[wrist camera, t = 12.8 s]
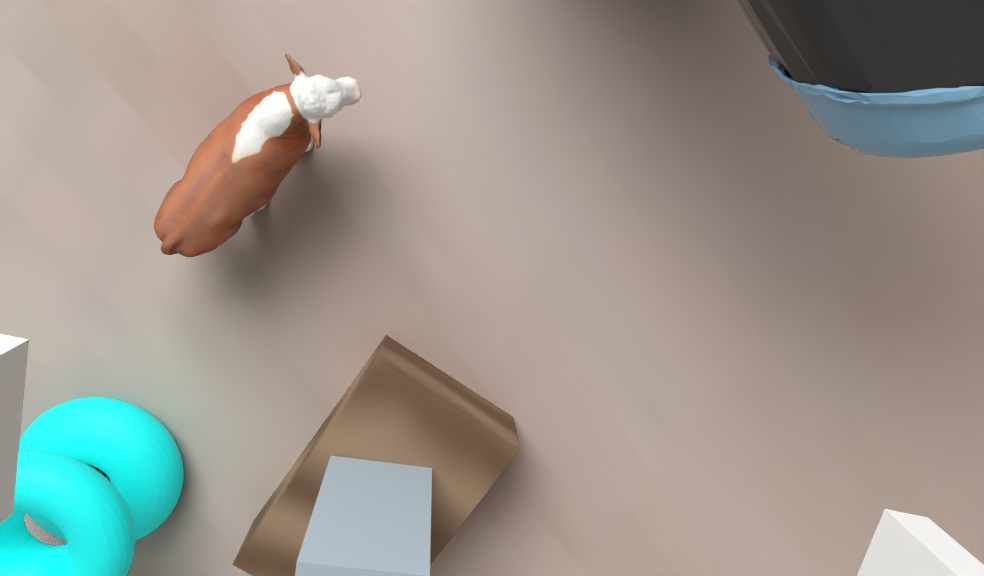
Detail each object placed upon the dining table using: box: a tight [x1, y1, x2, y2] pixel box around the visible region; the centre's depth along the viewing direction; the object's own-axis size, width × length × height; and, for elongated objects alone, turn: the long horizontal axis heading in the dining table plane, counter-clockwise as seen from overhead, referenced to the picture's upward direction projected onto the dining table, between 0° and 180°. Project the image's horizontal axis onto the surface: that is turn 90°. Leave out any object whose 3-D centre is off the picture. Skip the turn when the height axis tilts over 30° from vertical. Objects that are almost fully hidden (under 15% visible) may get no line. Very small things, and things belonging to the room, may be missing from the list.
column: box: [295, 456, 432, 576], centre depth 37 cm, size 6×6×10 cm
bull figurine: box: [154, 53, 361, 257], centre depth 37 cm, size 4×13×8 cm, turn 131°
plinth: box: [233, 335, 520, 576], centre depth 44 cm, size 16×10×5 cm, turn 144°
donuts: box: [0, 397, 184, 576], centre depth 40 cm, size 10×10×10 cm
